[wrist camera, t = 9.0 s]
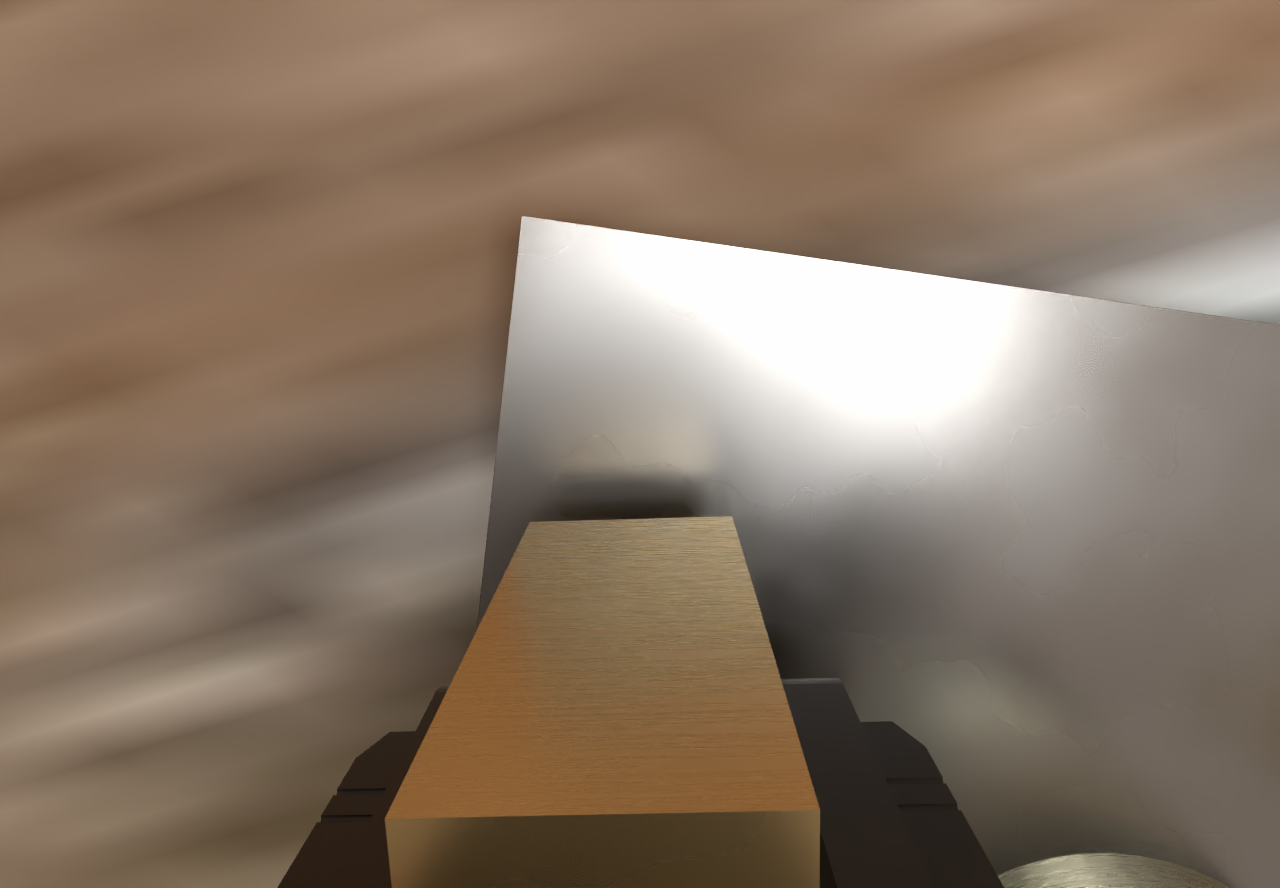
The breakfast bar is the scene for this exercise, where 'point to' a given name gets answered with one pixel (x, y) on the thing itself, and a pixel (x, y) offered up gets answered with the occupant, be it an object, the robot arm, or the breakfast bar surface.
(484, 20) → the breakfast bar surface
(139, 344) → the breakfast bar surface
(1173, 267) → the breakfast bar surface
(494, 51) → the breakfast bar surface
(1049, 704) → the plate
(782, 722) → the cream rectangular block
